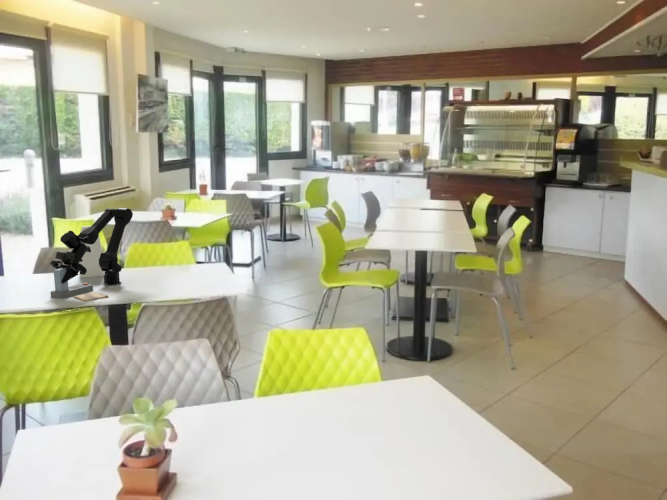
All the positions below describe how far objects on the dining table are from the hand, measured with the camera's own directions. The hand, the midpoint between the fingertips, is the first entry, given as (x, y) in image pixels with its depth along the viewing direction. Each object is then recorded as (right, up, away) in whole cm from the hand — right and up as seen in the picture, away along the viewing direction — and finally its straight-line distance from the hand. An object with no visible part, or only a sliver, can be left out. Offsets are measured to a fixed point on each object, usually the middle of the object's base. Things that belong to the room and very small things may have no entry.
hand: (58, 282), depth 291 cm
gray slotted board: (+3, -6, +7) cm, 10 cm away
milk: (-3, +2, +48) cm, 49 cm away
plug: (+1, -6, +2) cm, 6 cm away
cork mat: (+15, -7, +1) cm, 16 cm away
